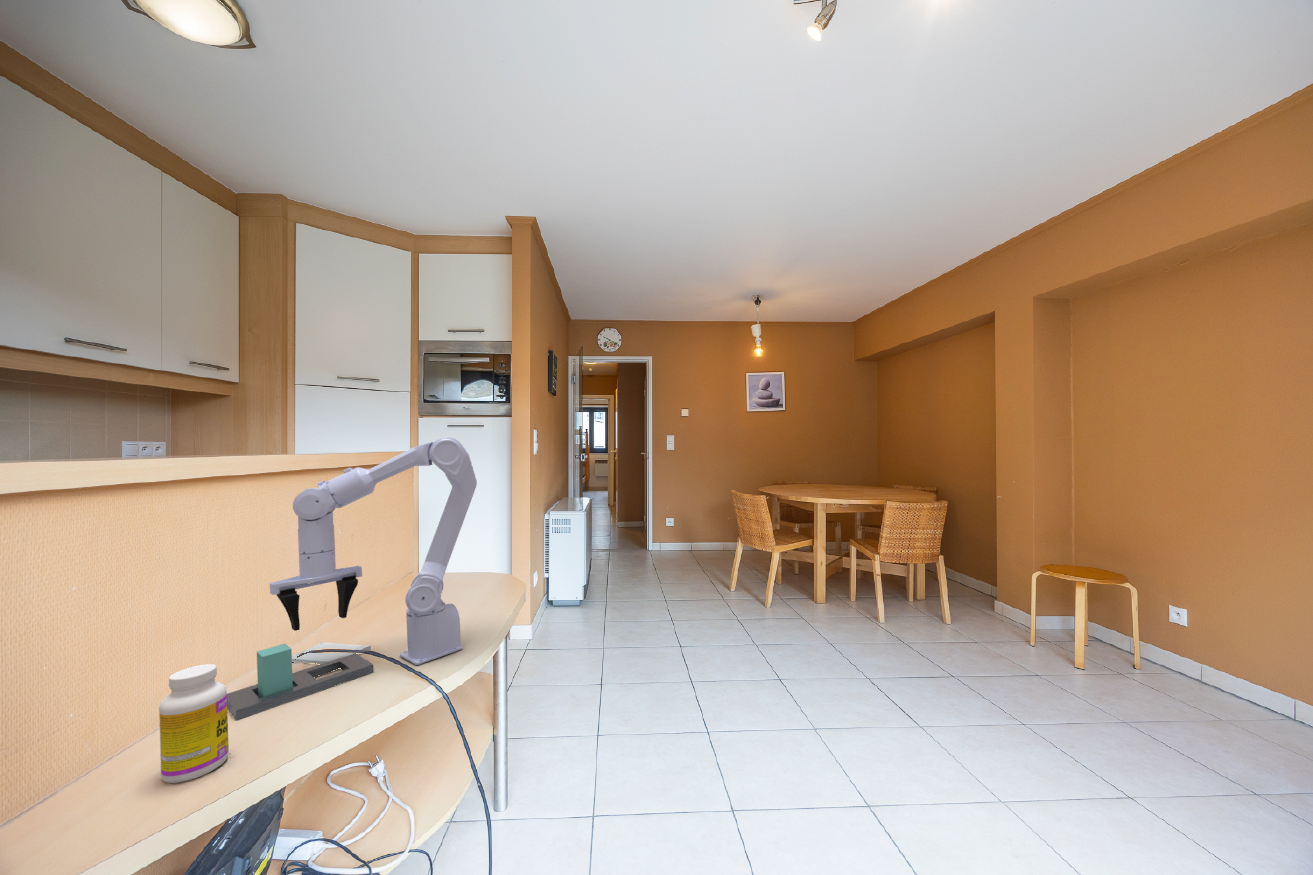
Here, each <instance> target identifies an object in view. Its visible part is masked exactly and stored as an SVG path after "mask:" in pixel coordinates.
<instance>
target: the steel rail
mask: <svg viewBox="0 0 1313 875" xmlns="http://www.w3.org/2000/svg"><path fill="white" fill-rule="evenodd" d="M338 668H341V669H342V670H343V671H342V670H341V669H340V670H341V671H338V672H335V673H333V674H331V675H330V674H329V673H328V672H331V671H333V670H336V669H338ZM374 671H375V670H374V664H373V663H372V662H370V661H369V660H367V659H366V658H364V657H362V656H361V655H358V654H356V653H355V654H352V655H348V656H345V657H342V658H339V659H336V660H333V661H329V662H326V663H323V664H320V665H313V666H311V667H308V668H304V669H302V670H301V669H300V670H299V671H295V672H292V677H293V688H290V689H287V690H284V691H281V692H278V693H275V694H272V695H269V696H266V697H263V698H260V699H259V698H258V683H257V684H254V685H251V686H247V687H244V688H242V689H241V688H240V689H238V690H234V691H230V692H227V710H229V712H230V713H231V715H232V716H233V718H234V720H235V721H239V720H241V719H245V718H247V717H251V716H252V715H255V714H258V713H262V712H265V711H267V710H271V709H273V708H275V707H278V706H281V705H285V704H287V703H289V702H293V701H295V700H298V699H301V698H305V697H308V696H310V695H313V694H316V693H319V692H321V690H322V691H324V690H323V689H325V690H327V688H328V689H331V688H333V687H336V686H339V685H341V684H340V683H342V684H344V683H343V682H345V683H347V681H348V682H350V681H353V680H356V679H359V678H361V677H364V676H367V675H369V674H370V675H371V674H372V673H374ZM325 673H327V674H329V675H326V674H325ZM331 673H332V672H331ZM323 674H324V675H326V676H324V675H323ZM318 675H321V676H323V677H321V678H318V679H316V678H317V677H316V676H318ZM314 677H315V678H314ZM318 677H319V676H318ZM338 684H339V685H338ZM335 685H336V686H335Z"/></svg>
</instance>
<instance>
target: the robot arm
mask: <svg viewBox="0 0 1313 875" xmlns="http://www.w3.org/2000/svg"><path fill="white" fill-rule="evenodd" d="M432 465H435V466H436V467H437V468H438V469H440V470H441V471H442V472H443V473H444V475H445V477H446V478H447V480H448V481H449V483H450V485H451V489H450V493H449V495H448V498H447V501H446V504H445V506H444V508H443V511H442V514H441V516H440V520H439V521H438V524H437V527H436V530H435V533H434V535H433V538H432V541H431V544H430V546H429V549H428V551H427V554H426V556H425V560H424V561H423V564H422V567H421V569H420V572H419V573H418V575H416V577H415V578H413V580H412V582H411V583H410V587H409V589H408V590H407V592H406V595H405V599H404V600H405V605H406V607H407V609H406V614H405V616H406V617H405V618H406V619H405V620H406V638H407V640H406V641H407V643H406V644H407V650H406V651H403V652H401V653H399V657H401V658H403V659H405V661H409V663H412V664H413V665H415V666H419V665H422V664H425V663H427V662H430V661H433V660H435V659H438V658H441V657H444V656H446V655H447V656H448V655H450V654H453V653H455V652H458V651H460V650H463V646H462V642H461V638H462V637H461V622H460V621H461V620H460V613H459V611H458V608H457V606H456V605H455V604H454V603H447V604H446V602H445V601H443V600H442V593H443V591H444V580H443V579H444V576H445V574H446V571H447V568H448V565H449V562H450V558H452V554H453V551H454V548H455V546H456V543H457V540H458V538H459V535H460V532H461V530H462V526H463V524H464V521H465V519H466V516H467V512H468V510H469V508H470V505H471V502H472V500H473V496H474V493H475V491H476V489H477V484H478V482H477V478H476V473H475V471H474V467H473V465H472V461H471V458H470V454H469V452H468V451H467V450H466V448H465V447H464V445H463V444H462V443H461V442H460V441H459V440H458V439H456V438H454V437H451V436H443V437H440V438H438V439H436V440H435V441H430V442H426V443H423V444H420V445H417V446H414V447H412V448H409V449H407V450H405V451H403V452H401V453H399V454H397V455H396V456H393V457H392V458H390V459H388V460H386V461H383V462H381V463H379V464H377V465H375V466H373V467H372V468H369V469H367V468H362V467H355V468H352V467H348V468H345V469H343V473H342V474H340V475H338V476H336V477H335V476H334V477H333V478H331V479H328V480H327V481H325V480H321V481H319V482H317V485H318V487H311V488H305V489H303V491H301V492H299V493H297V495H296V496H295V497H294V499H293V501H292V502H293V503H292V510H293V512H294V514H295V515H296V516H297V521H298V522H297V524H298V529H297V540H298V542H297V543H298V565H299V566H298V568H299V570H298V571H299V575H297V576H293V577H289V578H285V579H281V580H277V581H273V582H269V593H270V594H271V595H273V596H275V595H276V597H277V598H278V600H279V601H280V602H281V604H282V606H283V607H284V610H285V611H286V613H287V615H288V618H289V622H290V626H291V629H292V630H293V631H299V630H300V628H301V627H300V626H301V623H300V613H299V606H300V594H298V591H297V590H299V589H304V588H309V587H314V586H319V585H323V584H328V583H332V582H335V583H336V584H335V585H336V590H337V597H338V598H337V599H338V601H337V602H338V608H337V609H338V610H337V612H338V617H339V618H341V619H345V618H347V615H348V611H349V606H350V602H351V599H352V597H353V594H354V592H355V591H356V589H357V586H358V584H359V578H360V577H363V567H362V566H360V565H355V566H349V567H348V566H347V567H343V568H342V567H340V568H337V566H336V564H337V563H336V542H335V541H336V540H335V538H336V537H335V536H336V535H335V525H334V513H333V512H334V511H335V509H341V508H343V507H345V506H348V505H350V504H352V503H354V502H356V501H358V500H361V499H362V498H364V497H367V496H369V495H370V494H373V493H374V490H375V487H376V485H377V484H378V483H380V482H383V481H385V480H387V479H389V478H391V477H392V478H393V477H394V476H396V475H398V474H400V473H403V472H405V471H408V470H410V469H412V468H414V467H416V466H417V467H422V466H423V467H429V466H432Z"/></svg>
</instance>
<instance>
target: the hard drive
mask: <svg viewBox="0 0 1313 875" xmlns="http://www.w3.org/2000/svg"><path fill="white" fill-rule="evenodd" d="M323 648H339V649H352V650H369V651H371V650H372V646H371V645H366V644H365V645H364V644H352V643H351V644H350V643H335V642H321V643H318V644H316V645H314V646H310V647H309V648H307V649H303V650H302V651H300V652H298V653H296V654H292V662H295V663H294V664H297V663H315V664H316V663H317V664H323V663H326V662H329V661H333V660H336V659H339V658H342V657H345V656H348V655H352V654H355V653H307V654H304V655H302V656H300V657H298V658H297V656H299V655H300V654H301V653H306V652H309V651H311V650H315V649H323ZM295 659H296V660H295Z"/></svg>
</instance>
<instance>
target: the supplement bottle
mask: <svg viewBox="0 0 1313 875" xmlns="http://www.w3.org/2000/svg"><path fill="white" fill-rule="evenodd" d="M217 669H218V668H217V665H216V664H214V663H213V664H212V663H206V664H199V665H195V666H190V667H186V668H184V669H180V670H179V671H176V672H174V673H173V674H171V675H170V676H169V677H168V687H169V689H170V690H171V692H170V694H168V695H167V696H165V697H164V698H163V699H162V701H161V702H160V705H159V707H158V713H159V714H158V715H159V716H158V717H159V745H160V746H159V748H160V749H159V750H160V751H159V752H160V754H159V755H160V777H161V780H162V781H164V782H165V783H169V784H170V783H171V784H175V783H176V784H177V783H182V782H187V781H191V780H194V779H196V778H197V779H198V778H199V777H201V776H204V775H207V774H209V773H210V772H212V771H214V770H215V769H217V768H219V767H220V766H221V765H223V764H224V763H225V761H226V760H227V758H228V756H229V754H230V752H229V746H230V745H229V717H228V707H227V694H228V692H227V687H226V685H225V684H223V683H221V682H219V681H215V680H216V677H217V675H218V672H217Z"/></svg>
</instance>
